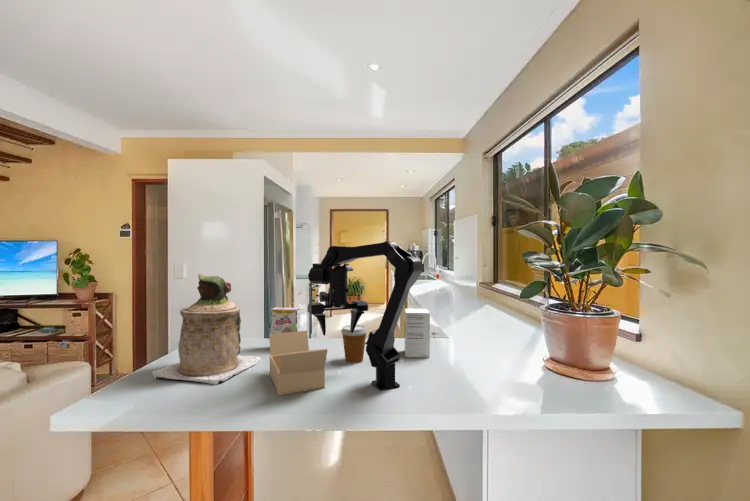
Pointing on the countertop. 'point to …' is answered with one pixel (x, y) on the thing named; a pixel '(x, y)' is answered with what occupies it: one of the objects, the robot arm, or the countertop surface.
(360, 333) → the disposable coffee cup
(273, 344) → the far flap
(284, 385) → the carton
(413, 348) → the supplement box
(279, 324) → the candy bar box
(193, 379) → the cookie jar
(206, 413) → the countertop surface
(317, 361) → the near flap
